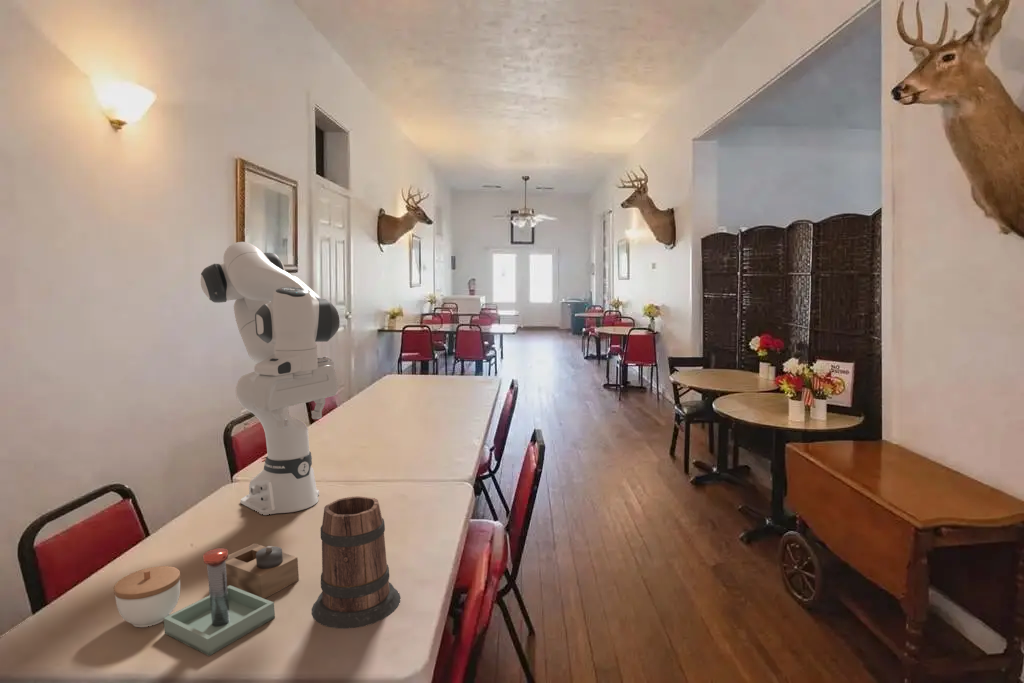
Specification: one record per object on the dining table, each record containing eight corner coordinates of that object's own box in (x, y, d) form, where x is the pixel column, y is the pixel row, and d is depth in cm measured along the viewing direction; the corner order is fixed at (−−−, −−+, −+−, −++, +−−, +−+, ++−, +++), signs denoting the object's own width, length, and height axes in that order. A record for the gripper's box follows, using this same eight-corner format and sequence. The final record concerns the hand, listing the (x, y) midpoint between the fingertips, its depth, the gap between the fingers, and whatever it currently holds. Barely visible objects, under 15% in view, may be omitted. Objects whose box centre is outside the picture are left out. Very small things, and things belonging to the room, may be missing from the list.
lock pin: (204, 624, 111) (198, 555, 110) (224, 614, 115) (219, 546, 114) (217, 630, 109) (211, 559, 108) (237, 619, 113) (232, 551, 112)
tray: (164, 633, 110) (163, 617, 110) (231, 599, 121) (230, 585, 121) (209, 655, 103) (207, 639, 103) (274, 617, 114) (273, 602, 114)
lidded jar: (136, 604, 120) (132, 559, 119) (193, 601, 121) (189, 556, 120) (104, 637, 109) (99, 587, 108) (167, 632, 110) (162, 583, 109)
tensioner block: (218, 582, 128) (215, 544, 127) (256, 564, 136) (253, 528, 135) (262, 599, 121) (259, 559, 120) (298, 580, 128) (296, 541, 127)
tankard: (409, 615, 114) (405, 512, 112) (315, 637, 108) (309, 529, 106) (384, 562, 136) (380, 475, 134) (304, 578, 129) (299, 486, 127)
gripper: (323, 354, 145) (326, 412, 146) (247, 367, 127) (251, 431, 129) (342, 356, 141) (345, 414, 143) (266, 369, 124) (271, 435, 126)
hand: (300, 423), depth 136 cm, fingers open, 8 cm apart
